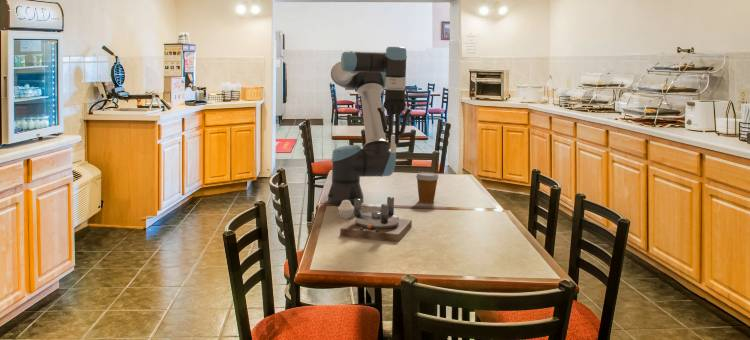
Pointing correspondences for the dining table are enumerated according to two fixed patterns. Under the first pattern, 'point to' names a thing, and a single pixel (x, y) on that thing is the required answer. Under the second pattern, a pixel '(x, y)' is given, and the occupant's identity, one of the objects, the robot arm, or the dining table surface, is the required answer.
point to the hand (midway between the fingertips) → (393, 152)
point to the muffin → (346, 209)
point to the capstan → (376, 216)
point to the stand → (376, 231)
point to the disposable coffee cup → (426, 186)
